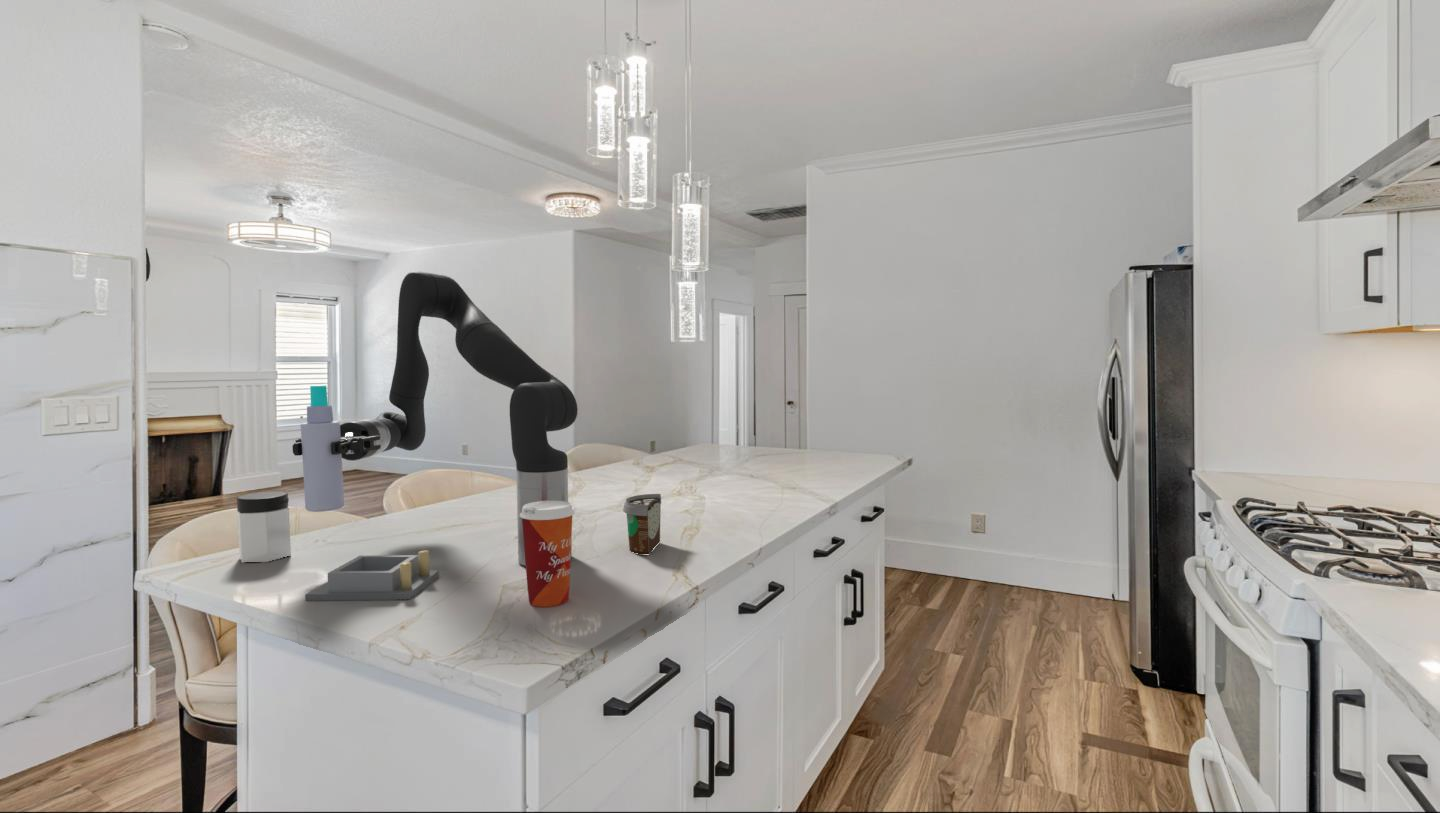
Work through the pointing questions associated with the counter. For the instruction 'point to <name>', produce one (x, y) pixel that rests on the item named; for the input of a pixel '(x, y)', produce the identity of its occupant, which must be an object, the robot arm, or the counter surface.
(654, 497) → the food container
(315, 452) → the spray bottle
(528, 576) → the coffee cup
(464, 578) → the counter surface
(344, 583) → the dock
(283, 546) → the jar
